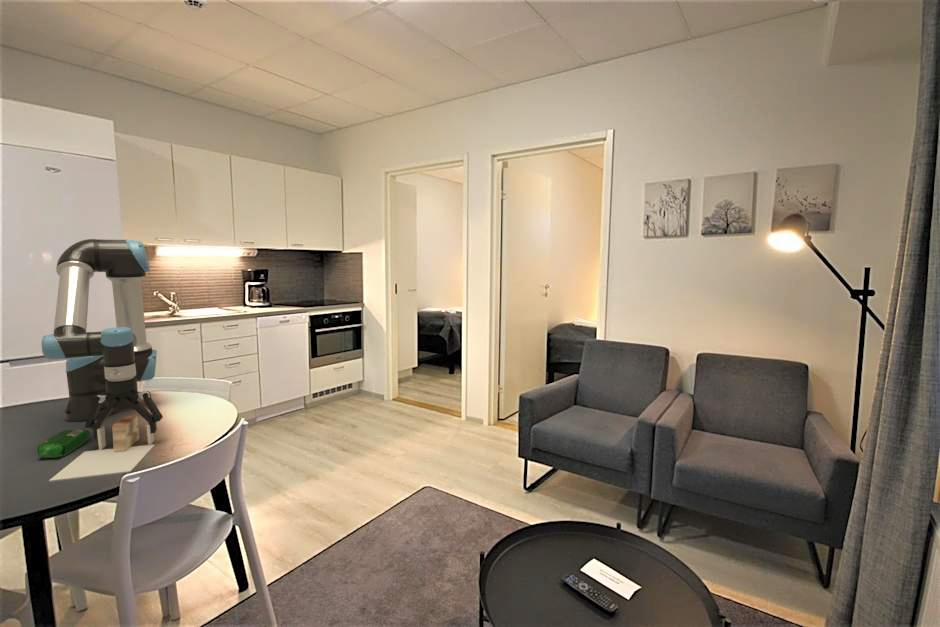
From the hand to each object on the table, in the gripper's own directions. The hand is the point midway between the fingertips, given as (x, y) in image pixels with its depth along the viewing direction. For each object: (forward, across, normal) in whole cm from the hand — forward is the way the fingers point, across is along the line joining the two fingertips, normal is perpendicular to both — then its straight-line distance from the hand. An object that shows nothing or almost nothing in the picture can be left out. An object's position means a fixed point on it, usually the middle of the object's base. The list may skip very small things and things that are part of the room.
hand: (127, 445), depth 136 cm
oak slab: (0, 0, 0) cm, 0 cm away
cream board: (0, -1, -11) cm, 11 cm away
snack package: (+1, -16, +2) cm, 17 cm away
